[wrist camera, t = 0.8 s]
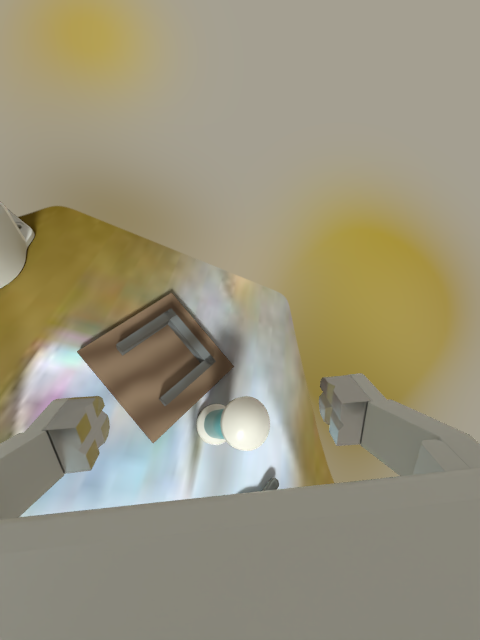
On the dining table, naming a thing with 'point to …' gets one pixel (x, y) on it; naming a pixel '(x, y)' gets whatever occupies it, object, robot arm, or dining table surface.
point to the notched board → (157, 364)
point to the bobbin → (235, 424)
